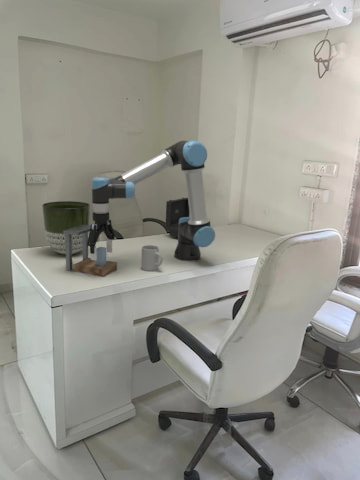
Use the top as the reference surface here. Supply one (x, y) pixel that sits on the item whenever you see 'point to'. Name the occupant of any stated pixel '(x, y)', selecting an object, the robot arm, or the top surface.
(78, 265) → the socket block
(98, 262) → the peg
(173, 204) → the watch box
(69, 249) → the grey arch frame
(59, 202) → the planter
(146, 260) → the mug
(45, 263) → the top surface
